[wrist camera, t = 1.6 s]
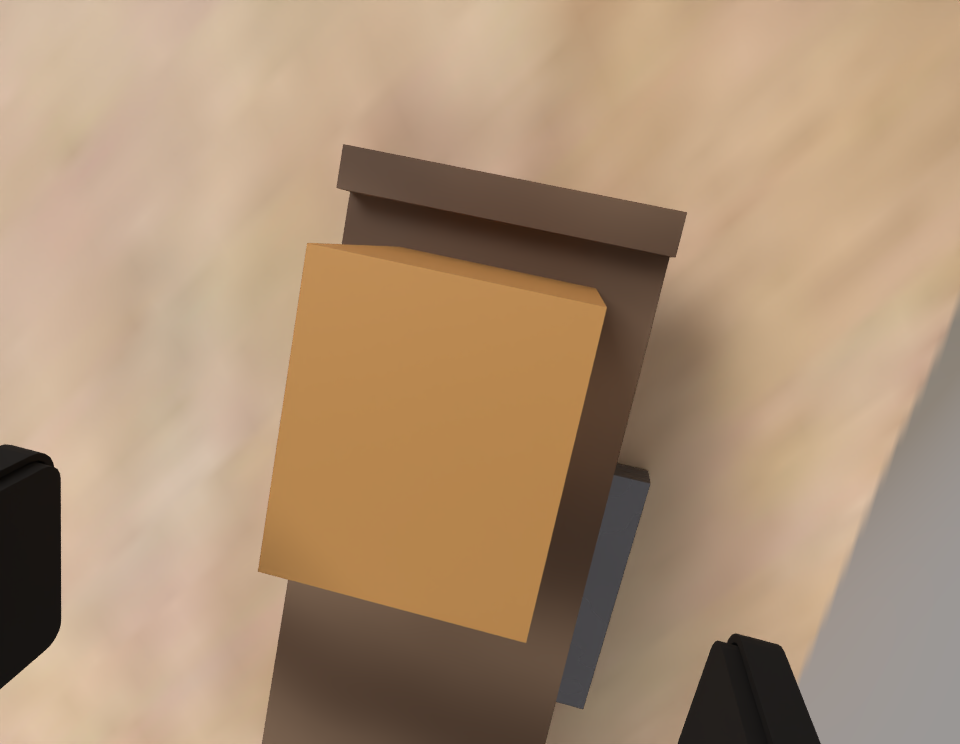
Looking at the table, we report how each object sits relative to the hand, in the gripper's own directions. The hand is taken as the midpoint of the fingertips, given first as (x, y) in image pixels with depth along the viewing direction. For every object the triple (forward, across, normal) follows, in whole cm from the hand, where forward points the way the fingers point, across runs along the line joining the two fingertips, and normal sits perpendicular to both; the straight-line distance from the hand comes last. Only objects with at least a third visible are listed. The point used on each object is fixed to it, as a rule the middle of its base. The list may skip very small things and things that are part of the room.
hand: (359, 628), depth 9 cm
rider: (+9, 0, -1) cm, 9 cm away
